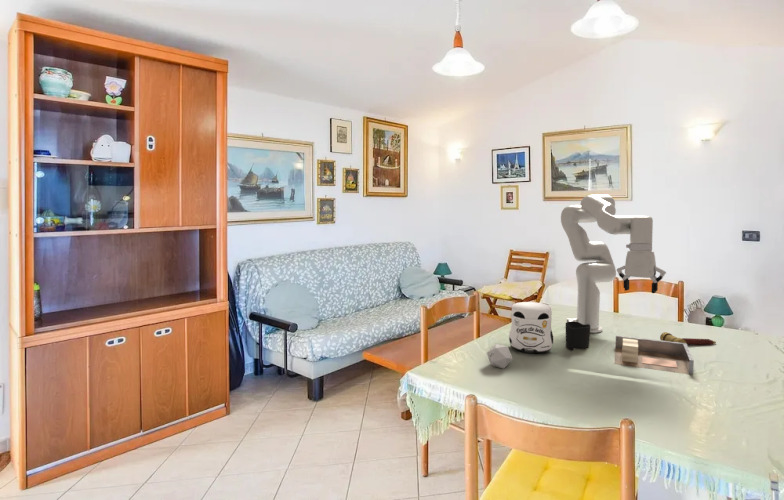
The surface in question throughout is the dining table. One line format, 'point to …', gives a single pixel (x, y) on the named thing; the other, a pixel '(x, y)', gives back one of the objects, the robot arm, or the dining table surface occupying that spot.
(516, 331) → the milk container
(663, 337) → the gavel
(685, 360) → the metal walls
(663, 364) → the walnut board
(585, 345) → the pen holder
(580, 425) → the dining table surface
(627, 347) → the maple block
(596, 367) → the dining table surface
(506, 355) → the die
